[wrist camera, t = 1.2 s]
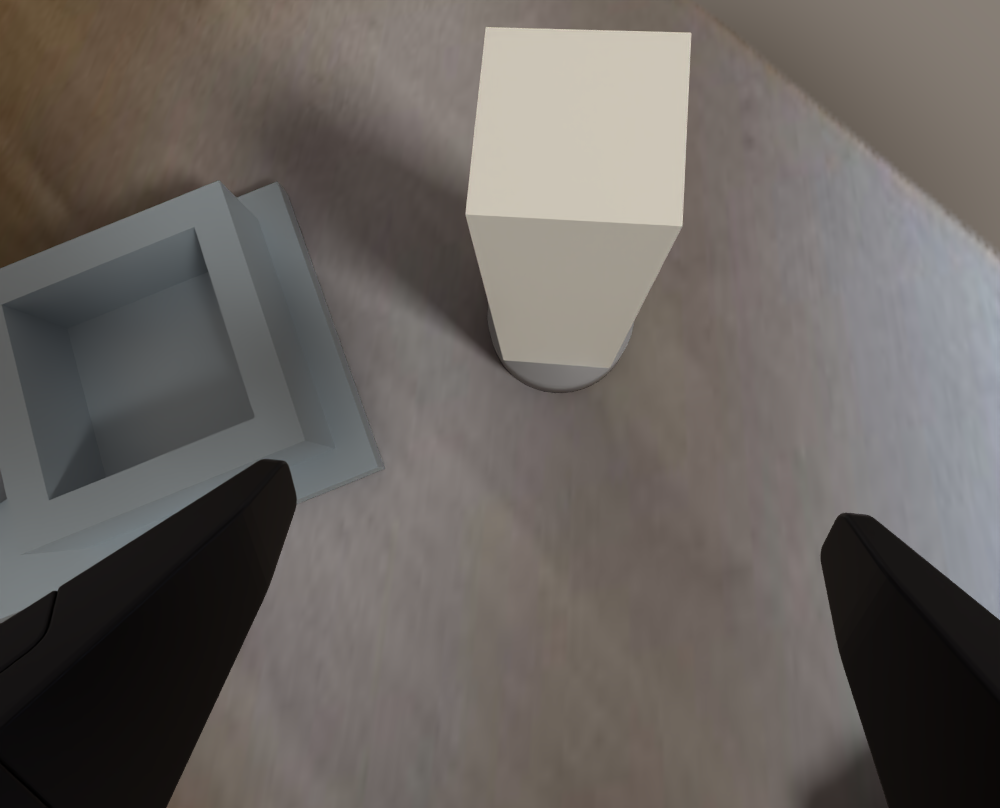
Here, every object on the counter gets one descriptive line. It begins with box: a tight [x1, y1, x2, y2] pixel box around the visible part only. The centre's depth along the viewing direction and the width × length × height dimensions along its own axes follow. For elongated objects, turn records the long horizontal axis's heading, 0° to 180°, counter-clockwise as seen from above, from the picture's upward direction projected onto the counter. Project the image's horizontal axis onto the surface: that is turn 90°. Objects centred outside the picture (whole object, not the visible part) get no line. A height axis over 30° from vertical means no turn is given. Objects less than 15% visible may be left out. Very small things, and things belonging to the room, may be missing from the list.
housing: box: [0, 180, 385, 623], centre depth 23 cm, size 13×18×4 cm
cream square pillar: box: [465, 27, 691, 393], centre depth 18 cm, size 6×6×13 cm
